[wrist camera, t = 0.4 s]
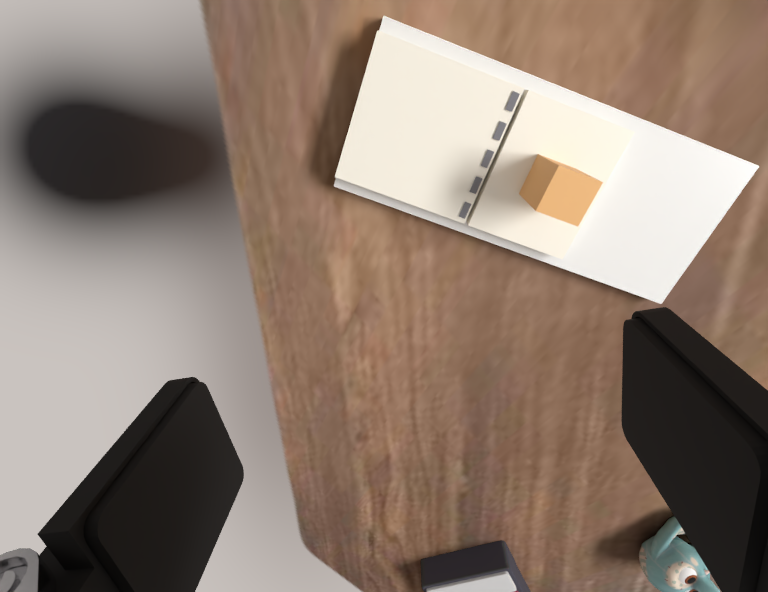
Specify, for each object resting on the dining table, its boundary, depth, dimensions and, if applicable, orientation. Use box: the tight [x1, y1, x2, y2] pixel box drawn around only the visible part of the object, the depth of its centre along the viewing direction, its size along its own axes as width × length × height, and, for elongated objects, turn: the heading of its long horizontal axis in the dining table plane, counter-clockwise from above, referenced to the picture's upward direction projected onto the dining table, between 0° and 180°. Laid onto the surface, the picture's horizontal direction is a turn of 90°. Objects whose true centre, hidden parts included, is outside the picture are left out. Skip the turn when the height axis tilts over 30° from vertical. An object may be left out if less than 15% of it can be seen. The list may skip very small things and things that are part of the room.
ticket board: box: [334, 16, 759, 304], centre depth 33 cm, size 12×29×2 cm, turn 71°
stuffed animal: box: [639, 516, 720, 592], centre depth 48 cm, size 11×7×12 cm
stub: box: [467, 90, 635, 259], centre depth 30 cm, size 10×8×6 cm
